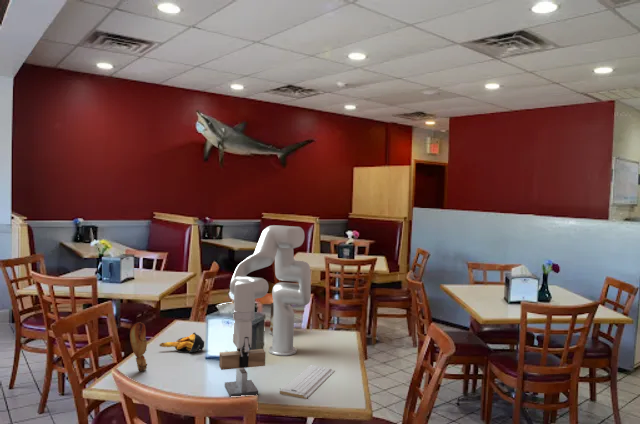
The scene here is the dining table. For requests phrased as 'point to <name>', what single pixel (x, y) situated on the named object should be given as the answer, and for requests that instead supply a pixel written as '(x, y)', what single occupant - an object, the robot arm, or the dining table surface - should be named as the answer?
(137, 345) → the crab claw
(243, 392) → the ridge stand
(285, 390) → the baseboard molding
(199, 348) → the fried shrimp in bowl
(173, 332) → the dining table surface
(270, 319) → the coffee box
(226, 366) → the tan long block
